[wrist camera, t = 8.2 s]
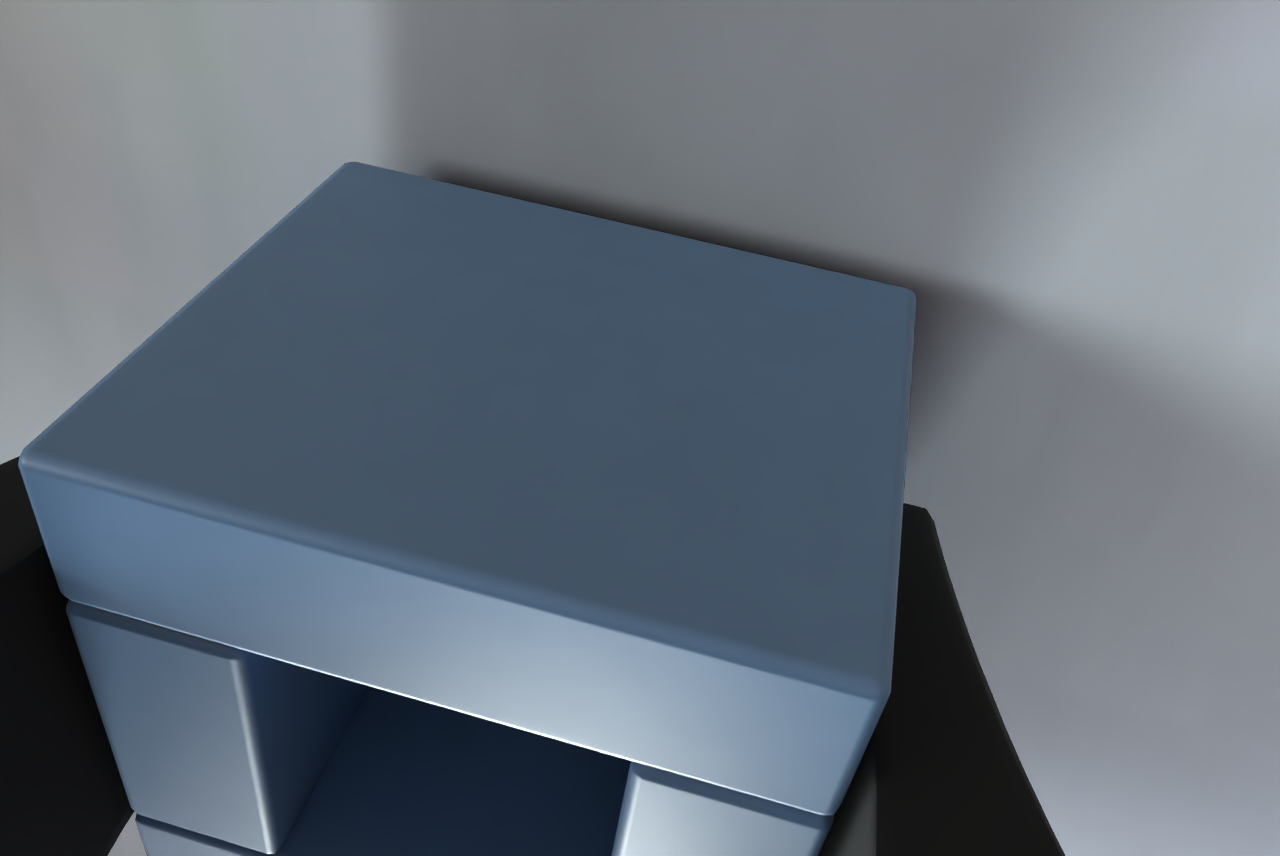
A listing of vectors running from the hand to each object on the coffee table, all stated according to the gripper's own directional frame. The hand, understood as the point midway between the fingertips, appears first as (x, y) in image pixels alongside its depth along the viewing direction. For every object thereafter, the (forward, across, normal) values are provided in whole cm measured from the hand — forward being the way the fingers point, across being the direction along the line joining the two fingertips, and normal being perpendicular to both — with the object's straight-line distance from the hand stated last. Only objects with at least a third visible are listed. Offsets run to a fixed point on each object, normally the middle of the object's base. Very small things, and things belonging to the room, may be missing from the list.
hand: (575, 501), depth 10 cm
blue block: (+1, 0, 0) cm, 1 cm away
